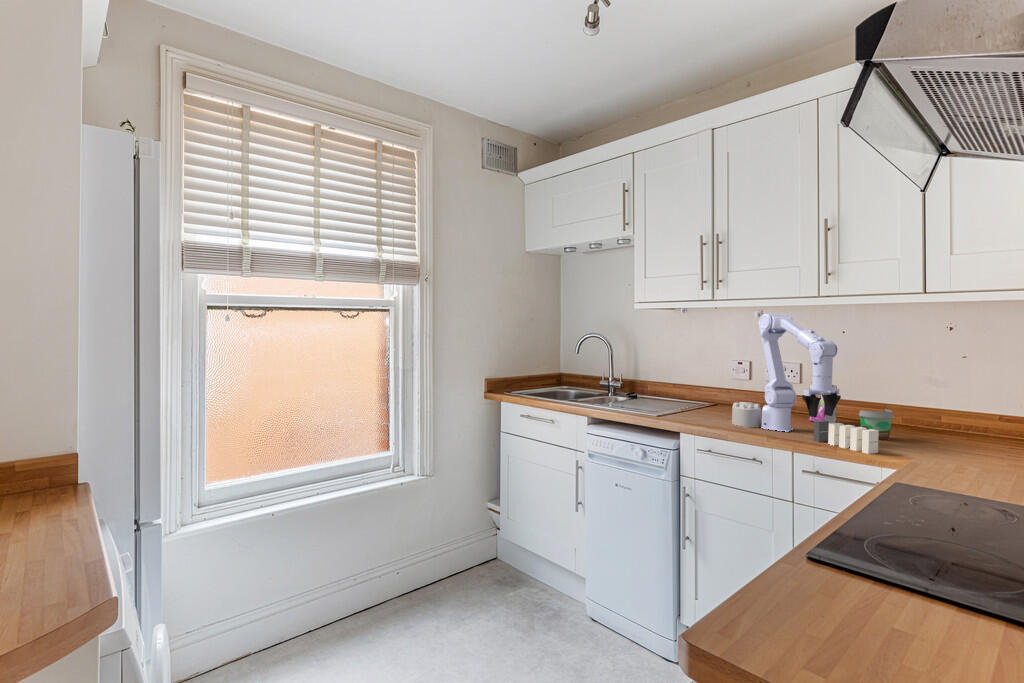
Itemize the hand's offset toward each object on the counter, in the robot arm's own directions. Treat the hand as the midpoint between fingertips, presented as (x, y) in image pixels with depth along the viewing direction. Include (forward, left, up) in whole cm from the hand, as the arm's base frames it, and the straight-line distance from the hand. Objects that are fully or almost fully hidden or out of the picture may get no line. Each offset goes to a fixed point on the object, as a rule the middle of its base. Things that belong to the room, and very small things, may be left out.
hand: (820, 416), depth 173 cm
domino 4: (+15, -7, -9) cm, 19 cm away
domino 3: (+12, -6, -9) cm, 16 cm away
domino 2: (+8, -4, -9) cm, 13 cm away
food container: (+14, +19, -9) cm, 25 cm away
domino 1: (+5, -2, -9) cm, 10 cm away
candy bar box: (-8, +38, -9) cm, 40 cm away
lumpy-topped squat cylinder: (-29, +12, -9) cm, 32 cm away
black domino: (0, 0, -9) cm, 9 cm away
